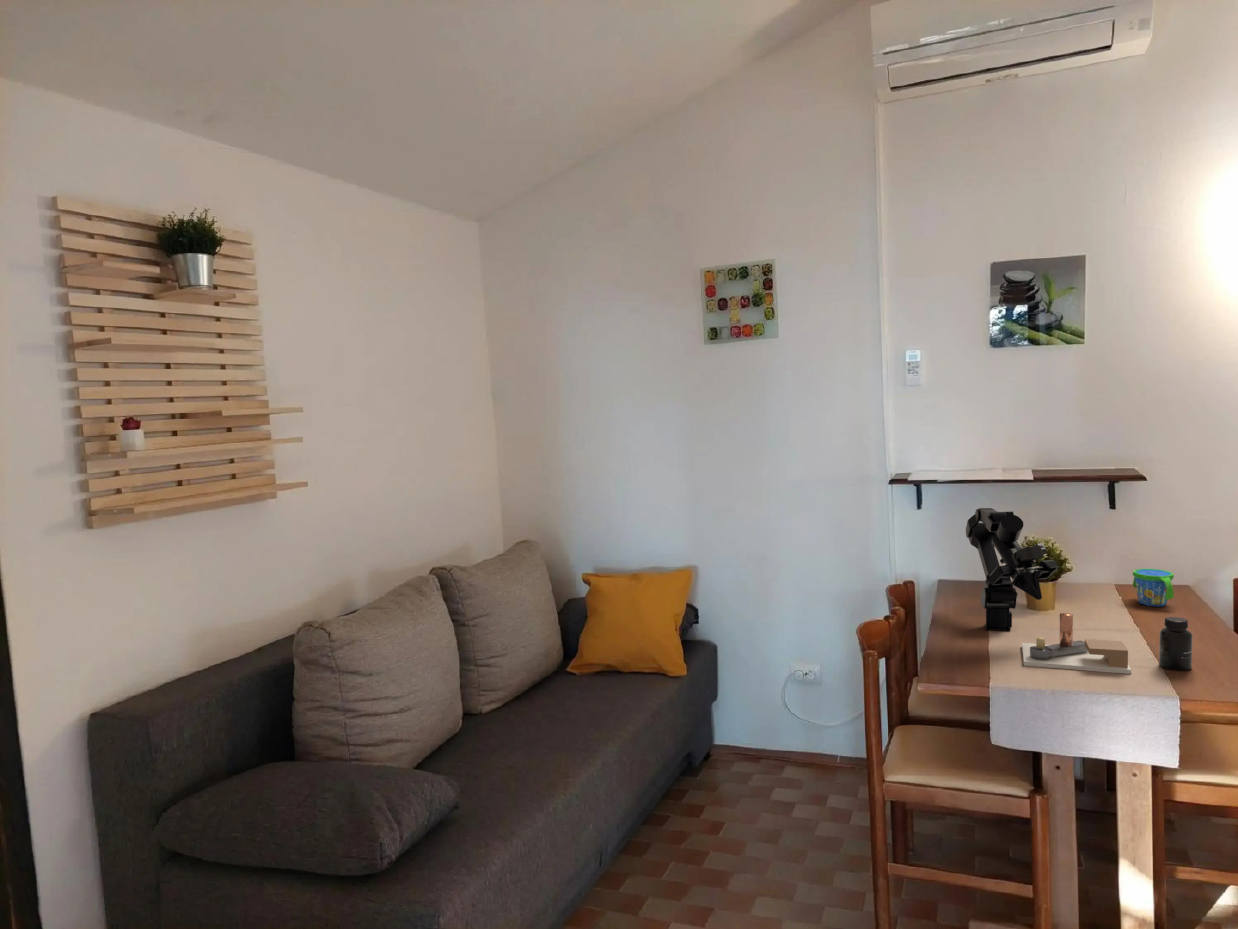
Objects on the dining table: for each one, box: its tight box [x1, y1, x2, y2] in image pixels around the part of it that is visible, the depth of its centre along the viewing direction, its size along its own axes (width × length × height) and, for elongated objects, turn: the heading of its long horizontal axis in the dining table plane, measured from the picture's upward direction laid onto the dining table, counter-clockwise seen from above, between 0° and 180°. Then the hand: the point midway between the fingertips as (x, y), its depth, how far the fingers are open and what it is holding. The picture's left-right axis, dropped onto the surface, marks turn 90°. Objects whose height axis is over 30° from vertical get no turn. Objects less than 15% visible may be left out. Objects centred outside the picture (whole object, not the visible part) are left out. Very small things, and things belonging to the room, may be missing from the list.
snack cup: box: [1132, 568, 1175, 608], centre depth 270 cm, size 16×11×10 cm
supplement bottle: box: [1158, 616, 1193, 672], centre depth 214 cm, size 7×7×12 cm
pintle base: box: [1021, 636, 1132, 675], centre depth 223 cm, size 24×16×6 cm
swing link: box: [1030, 612, 1088, 660], centre depth 224 cm, size 16×5×10 cm, turn 107°
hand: (1040, 599), depth 231 cm, fingers closed
